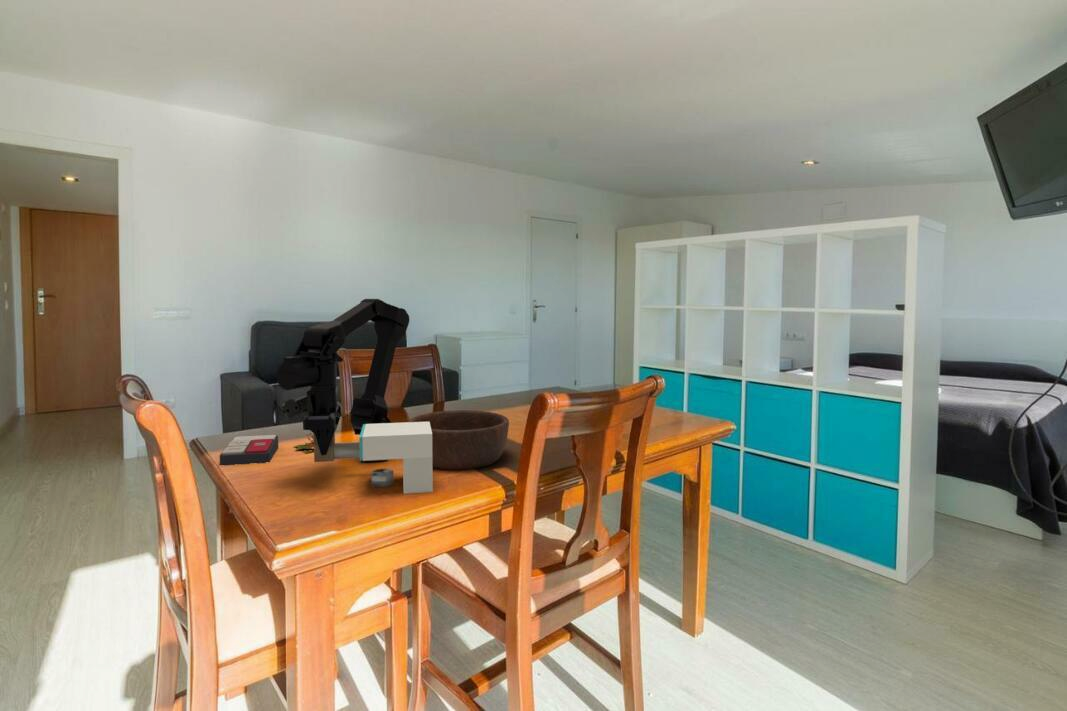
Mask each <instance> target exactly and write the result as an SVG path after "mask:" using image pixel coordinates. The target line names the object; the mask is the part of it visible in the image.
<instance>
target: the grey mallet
mask: <svg viewBox="0 0 1067 711" xmlns="http://www.w3.org/2000/svg"><path fill="white" fill-rule="evenodd" d="M313 438H314V441H313V442H314V447H313V456H314V457H313V458H314V460H313V462H314V463H322V462H323V463H325V462H335V460H345V459H348V460H349V459H360V446H359V441H357V442H355V441H354V442H352V441H351V442H350V441H349V442H336V431H335V432H334V435H333V437H332V440H331V443H330V446H329V449H328V451H327V454H326V455H321V453H320V450H319V446H318V443H317V439H316V436H315V434H313Z"/></svg>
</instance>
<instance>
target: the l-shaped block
mask: <svg viewBox="0 0 1067 711" xmlns="http://www.w3.org/2000/svg"><path fill="white" fill-rule="evenodd" d="M358 438H359V439H358V440H359V441H358V442H359V446H360V458H359V461H360V462H361V460H363V461H368V460H387V459H388V460H402V475H403V476H402V477H403V480H402V481H403V483H402V484H403V487H402V488H403V494H404V495H405V494H407V495H408V494H420V493H421V494H422V493H423V494H424V493H433V488H434V487H433V486H434V484H433V482H434V481H433V469H434V468H433V467H432V431H431V426H430V422H408V421H407V422H392V423H378V424H363V427H362V430H361V433H360V435H359V437H358ZM388 460H387V461H388Z"/></svg>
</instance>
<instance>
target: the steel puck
mask: <svg viewBox="0 0 1067 711" xmlns="http://www.w3.org/2000/svg"><path fill="white" fill-rule="evenodd" d="M394 481H395V480H394V470H393V469H391V468H378V469H375V470H371V471H370V485H371V487H373V488H379V489H380V488H388V487H391V486H393V485H394Z"/></svg>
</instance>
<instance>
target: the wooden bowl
mask: <svg viewBox="0 0 1067 711" xmlns="http://www.w3.org/2000/svg"><path fill="white" fill-rule="evenodd" d="M409 422H430V426H431V431H432V468H433V469H441V470H453V471H454V470H456V471H457V470H458V471H459V470H473V469H478V468H483V467H486V466H490V465H492V464H494V463H496V462H497V461H498V460H499V459H500V458H501V456H502V455H503V452H504V450H505V448H506V444H507V440H508V434H509V427H510V420H509V418H507V417H506V416H505V415H503V414H501V413H496V412H491V411H483V410H473V409H472V410H468V409H467V410H465V409H464V410H461V409H458V410H457V409H455V410H441V411H434V412H428V413H423V414H419V415H416V416H414V417H413V418H411V419H410V420H409Z"/></svg>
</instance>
